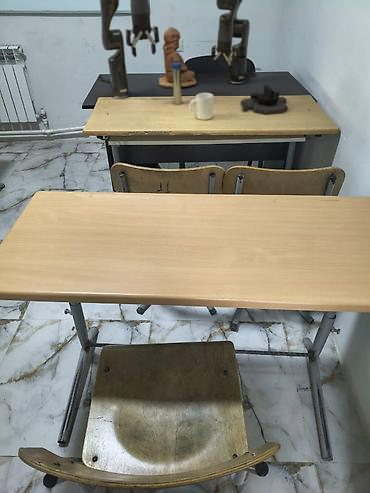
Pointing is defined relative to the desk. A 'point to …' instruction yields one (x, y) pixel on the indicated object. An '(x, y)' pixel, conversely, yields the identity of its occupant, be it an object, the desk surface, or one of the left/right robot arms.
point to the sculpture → (172, 56)
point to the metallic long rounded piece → (177, 86)
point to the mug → (203, 106)
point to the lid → (176, 65)
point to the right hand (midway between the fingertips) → (222, 68)
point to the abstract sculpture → (265, 102)
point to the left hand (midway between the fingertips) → (144, 55)
